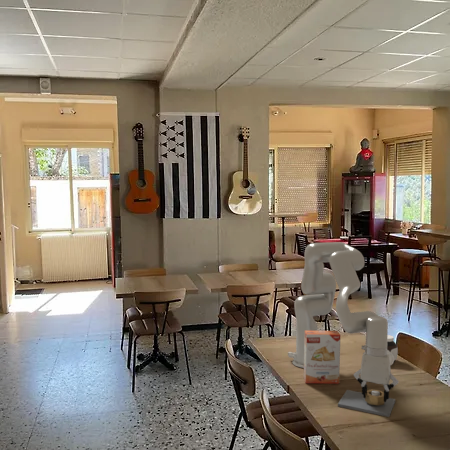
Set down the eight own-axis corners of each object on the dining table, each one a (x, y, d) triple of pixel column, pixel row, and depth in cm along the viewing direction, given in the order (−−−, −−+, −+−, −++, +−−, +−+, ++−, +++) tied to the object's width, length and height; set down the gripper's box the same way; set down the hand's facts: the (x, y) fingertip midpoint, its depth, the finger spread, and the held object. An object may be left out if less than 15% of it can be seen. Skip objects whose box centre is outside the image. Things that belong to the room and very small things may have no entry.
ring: (364, 402, 173) (364, 394, 172) (367, 396, 178) (367, 388, 178) (382, 406, 170) (383, 398, 169) (386, 399, 175) (386, 391, 175)
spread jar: (389, 357, 226) (389, 333, 226) (405, 365, 216) (405, 340, 215) (367, 360, 223) (368, 335, 222) (382, 368, 212) (383, 342, 211)
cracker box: (305, 384, 194) (306, 334, 193) (303, 378, 200) (303, 329, 199) (340, 384, 194) (340, 334, 192) (336, 378, 200) (337, 329, 198)
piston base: (337, 406, 174) (338, 393, 173) (347, 392, 186) (347, 379, 186) (389, 417, 165) (389, 403, 165) (395, 401, 177) (395, 388, 177)
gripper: (349, 350, 174) (349, 397, 175) (399, 357, 166) (398, 407, 167) (354, 344, 180) (353, 390, 181) (402, 351, 172) (401, 399, 173)
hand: (375, 398), depth 174 cm, fingers closed on ring, 6 cm apart
